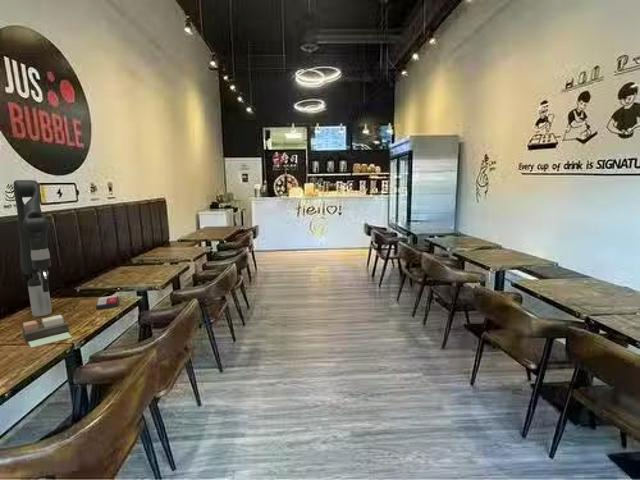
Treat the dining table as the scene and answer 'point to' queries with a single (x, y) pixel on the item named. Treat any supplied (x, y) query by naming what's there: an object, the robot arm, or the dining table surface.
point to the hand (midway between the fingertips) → (45, 291)
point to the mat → (49, 340)
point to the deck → (45, 331)
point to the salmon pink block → (30, 326)
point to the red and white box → (107, 302)
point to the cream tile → (52, 321)
